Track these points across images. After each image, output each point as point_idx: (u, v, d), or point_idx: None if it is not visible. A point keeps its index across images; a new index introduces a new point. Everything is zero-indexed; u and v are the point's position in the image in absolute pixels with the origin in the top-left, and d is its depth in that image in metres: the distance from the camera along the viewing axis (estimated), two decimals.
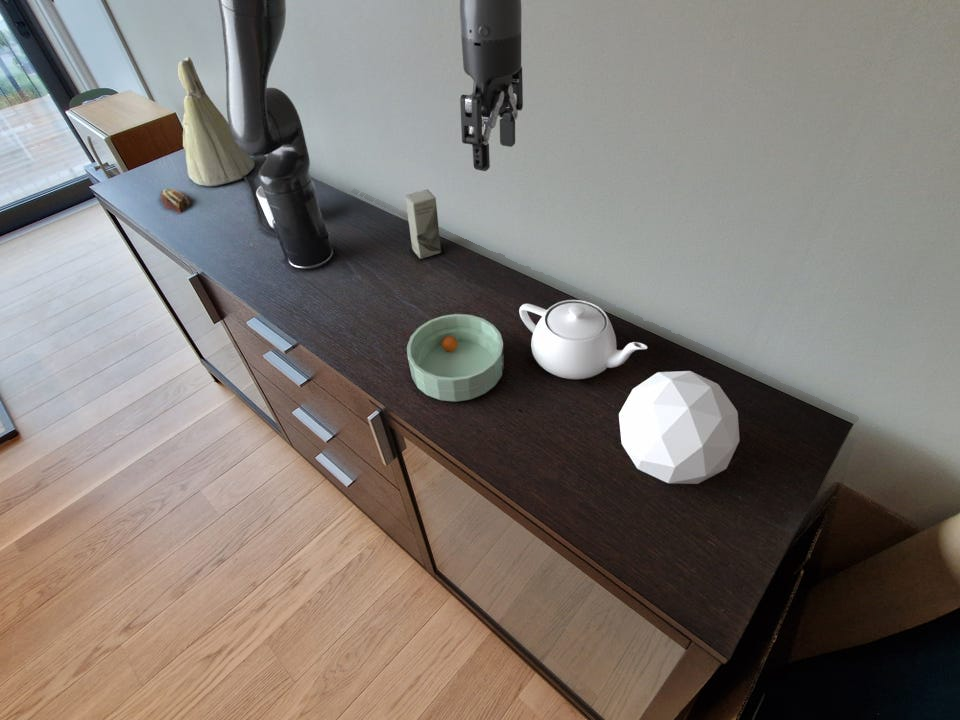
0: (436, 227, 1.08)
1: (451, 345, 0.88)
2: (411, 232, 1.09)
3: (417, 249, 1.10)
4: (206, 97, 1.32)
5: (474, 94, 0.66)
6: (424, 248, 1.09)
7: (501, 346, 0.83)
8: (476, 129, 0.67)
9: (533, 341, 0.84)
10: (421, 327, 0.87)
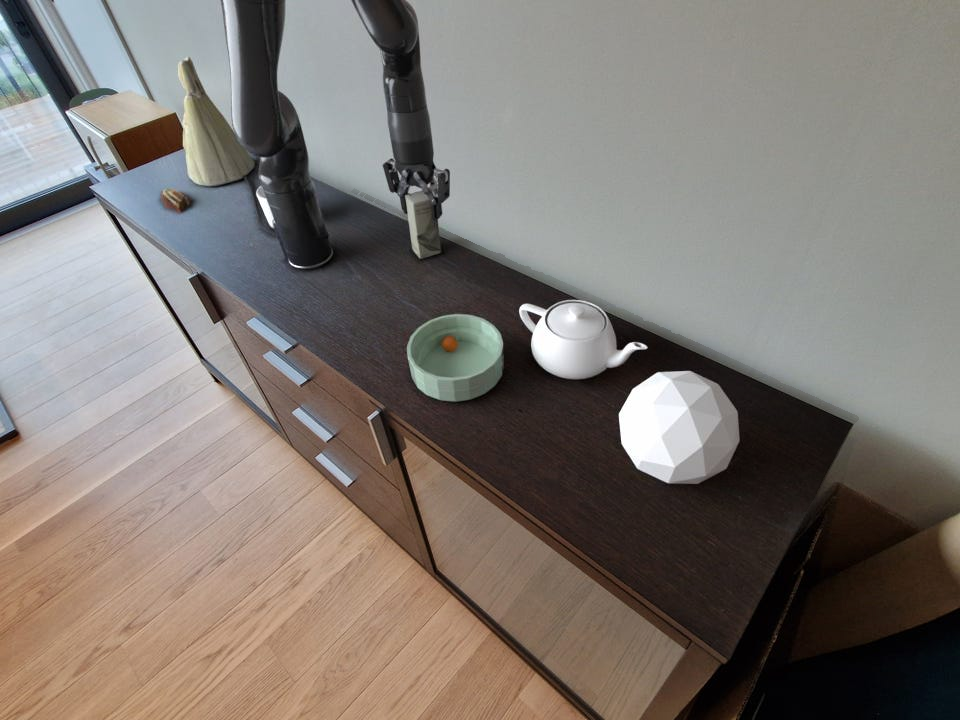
0: (436, 227, 1.08)
1: (451, 345, 0.88)
2: (411, 232, 1.09)
3: (417, 249, 1.10)
4: (206, 97, 1.32)
5: (392, 161, 1.01)
6: (424, 248, 1.09)
7: (501, 346, 0.83)
8: (387, 181, 1.04)
9: (533, 341, 0.84)
10: (421, 327, 0.87)
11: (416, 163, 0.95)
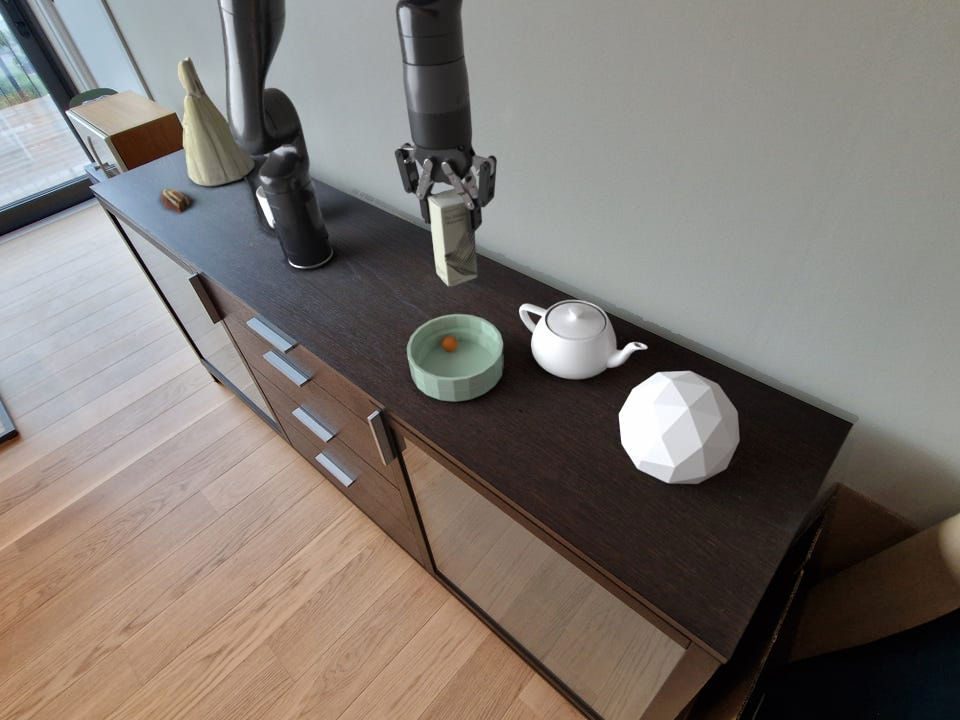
0: (473, 242, 0.75)
1: (451, 345, 0.88)
2: (436, 249, 0.76)
3: (444, 273, 0.77)
4: (206, 97, 1.32)
5: (409, 147, 0.68)
6: (454, 272, 0.76)
7: (501, 346, 0.83)
8: (401, 177, 0.71)
9: (533, 341, 0.84)
10: (421, 327, 0.87)
11: (447, 147, 0.62)
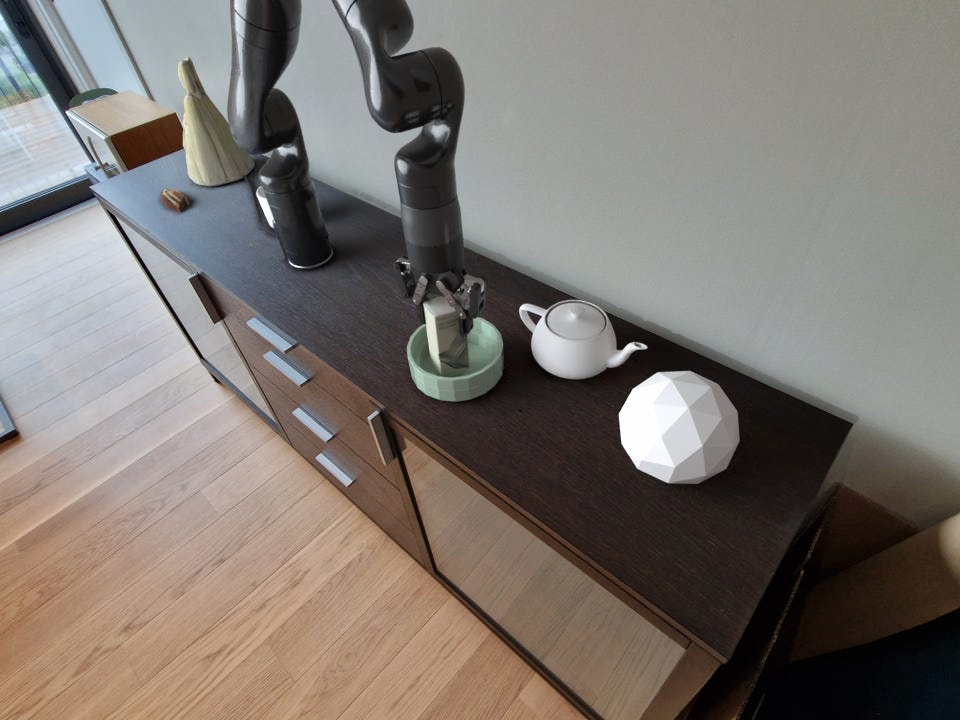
0: (465, 341, 0.80)
1: None
2: (430, 345, 0.82)
3: (438, 367, 0.82)
4: (206, 97, 1.32)
5: (406, 260, 0.74)
6: (448, 367, 0.82)
7: (501, 346, 0.83)
8: (399, 284, 0.76)
9: (533, 341, 0.84)
10: (421, 327, 0.87)
11: (441, 271, 0.68)
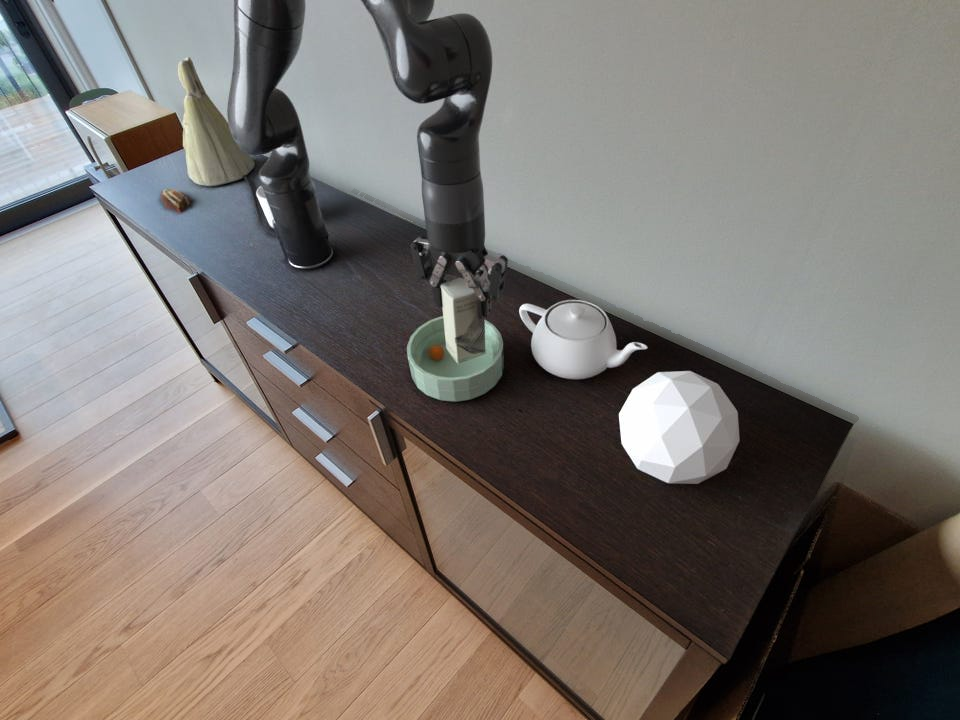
0: (482, 325, 0.78)
1: (433, 359, 0.88)
2: (446, 329, 0.80)
3: (454, 352, 0.80)
4: (206, 97, 1.32)
5: (424, 241, 0.72)
6: (464, 351, 0.80)
7: (501, 346, 0.83)
8: (416, 266, 0.74)
9: (533, 341, 0.84)
10: (421, 327, 0.87)
11: (462, 251, 0.66)
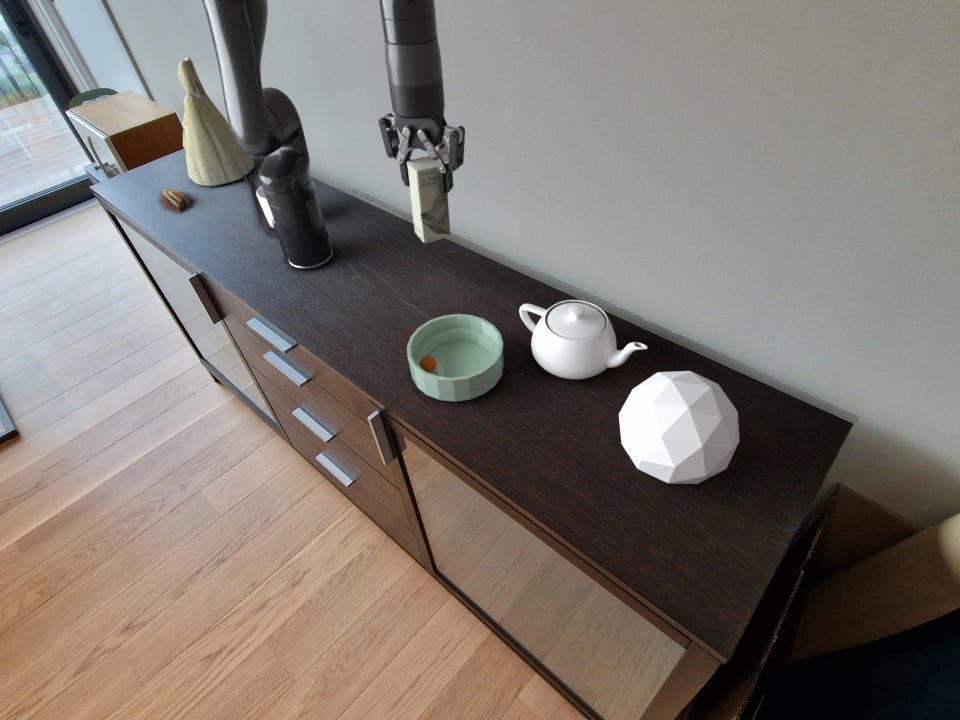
0: (446, 204, 0.85)
1: None
2: (413, 209, 0.87)
3: (421, 231, 0.87)
4: (206, 97, 1.32)
5: (391, 116, 0.79)
6: (429, 230, 0.87)
7: (501, 346, 0.83)
8: (384, 143, 0.81)
9: (533, 341, 0.84)
10: (421, 327, 0.87)
11: (422, 116, 0.73)
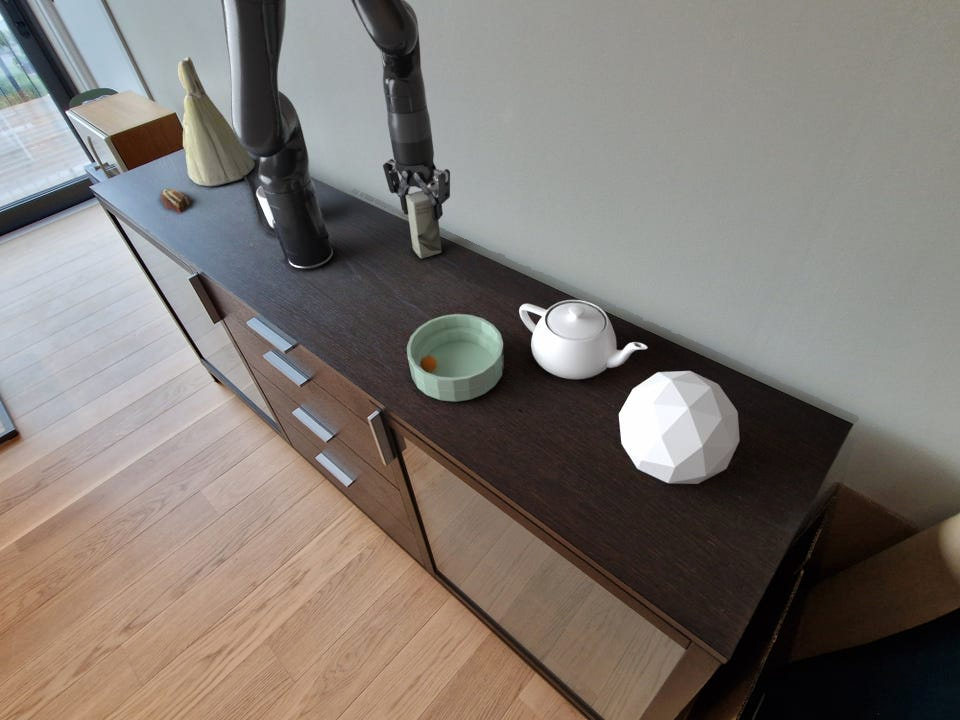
0: (437, 227, 1.08)
1: None
2: (412, 232, 1.09)
3: (418, 249, 1.10)
4: (206, 97, 1.32)
5: (392, 162, 1.01)
6: (425, 248, 1.09)
7: (501, 346, 0.83)
8: (387, 182, 1.04)
9: (533, 341, 0.84)
10: (421, 327, 0.87)
11: (416, 164, 0.96)
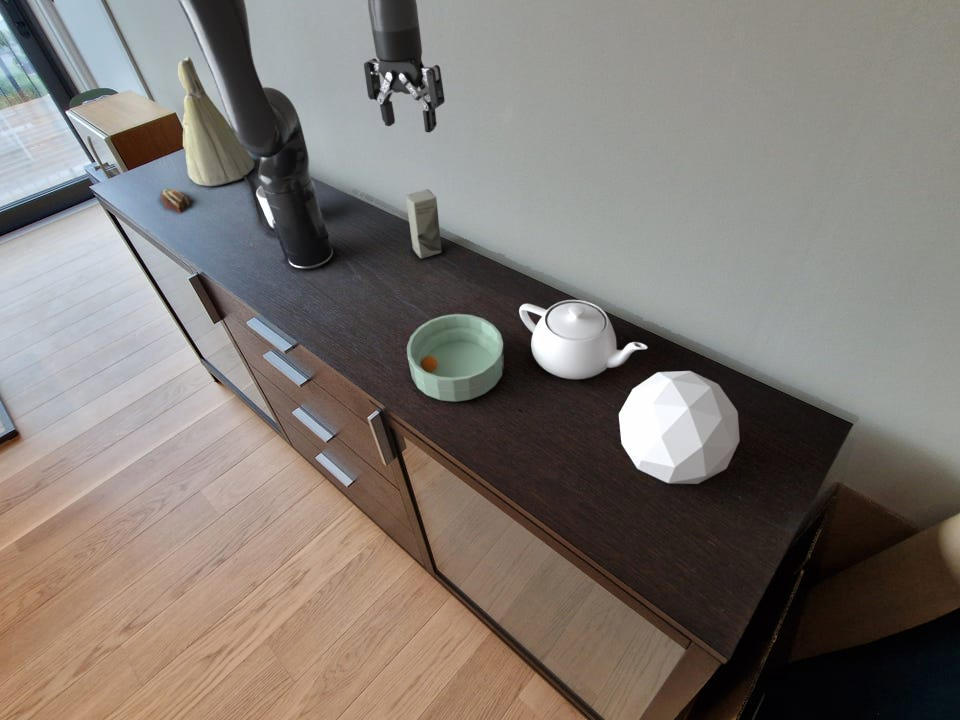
0: (437, 227, 1.08)
1: None
2: (412, 232, 1.09)
3: (418, 249, 1.10)
4: (206, 97, 1.32)
5: (375, 62, 0.89)
6: (425, 248, 1.09)
7: (501, 346, 0.83)
8: (367, 85, 0.92)
9: (533, 341, 0.84)
10: (421, 327, 0.87)
11: (401, 59, 0.83)
